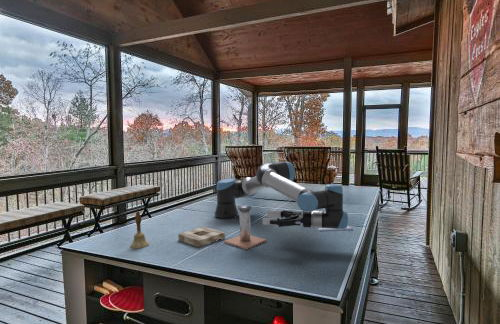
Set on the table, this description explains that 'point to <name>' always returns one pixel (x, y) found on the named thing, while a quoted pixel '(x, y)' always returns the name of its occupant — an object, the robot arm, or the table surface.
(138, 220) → the hand bell
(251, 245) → the terracotta mat
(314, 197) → the robot arm
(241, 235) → the aluminium plug
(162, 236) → the table surface
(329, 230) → the white folded cloth
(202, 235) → the frame
